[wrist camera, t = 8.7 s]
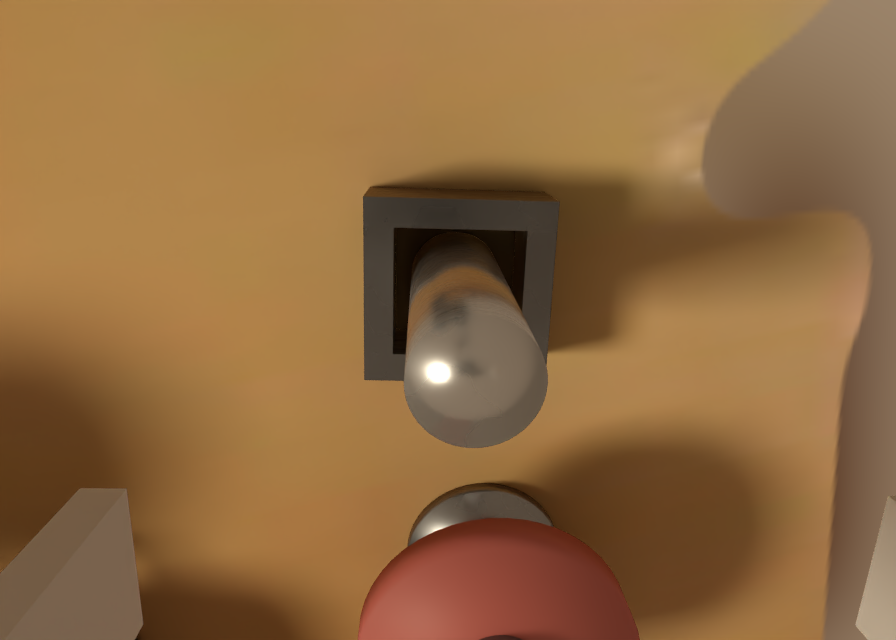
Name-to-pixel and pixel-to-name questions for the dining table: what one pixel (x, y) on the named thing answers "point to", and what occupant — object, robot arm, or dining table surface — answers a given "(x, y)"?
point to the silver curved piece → (476, 508)
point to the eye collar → (452, 210)
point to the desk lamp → (497, 588)
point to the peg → (469, 347)
